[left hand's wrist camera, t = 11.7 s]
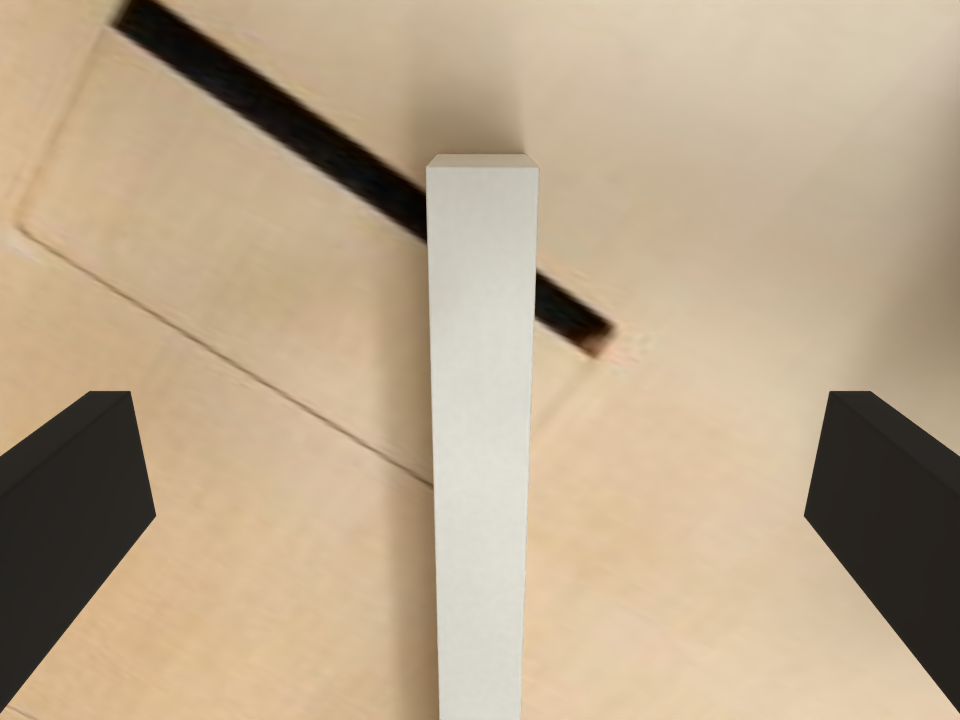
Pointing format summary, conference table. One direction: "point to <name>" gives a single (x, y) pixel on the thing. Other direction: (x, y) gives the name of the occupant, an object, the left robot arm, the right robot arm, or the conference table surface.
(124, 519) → the left robot arm
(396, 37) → the conference table surface
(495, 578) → the bar
